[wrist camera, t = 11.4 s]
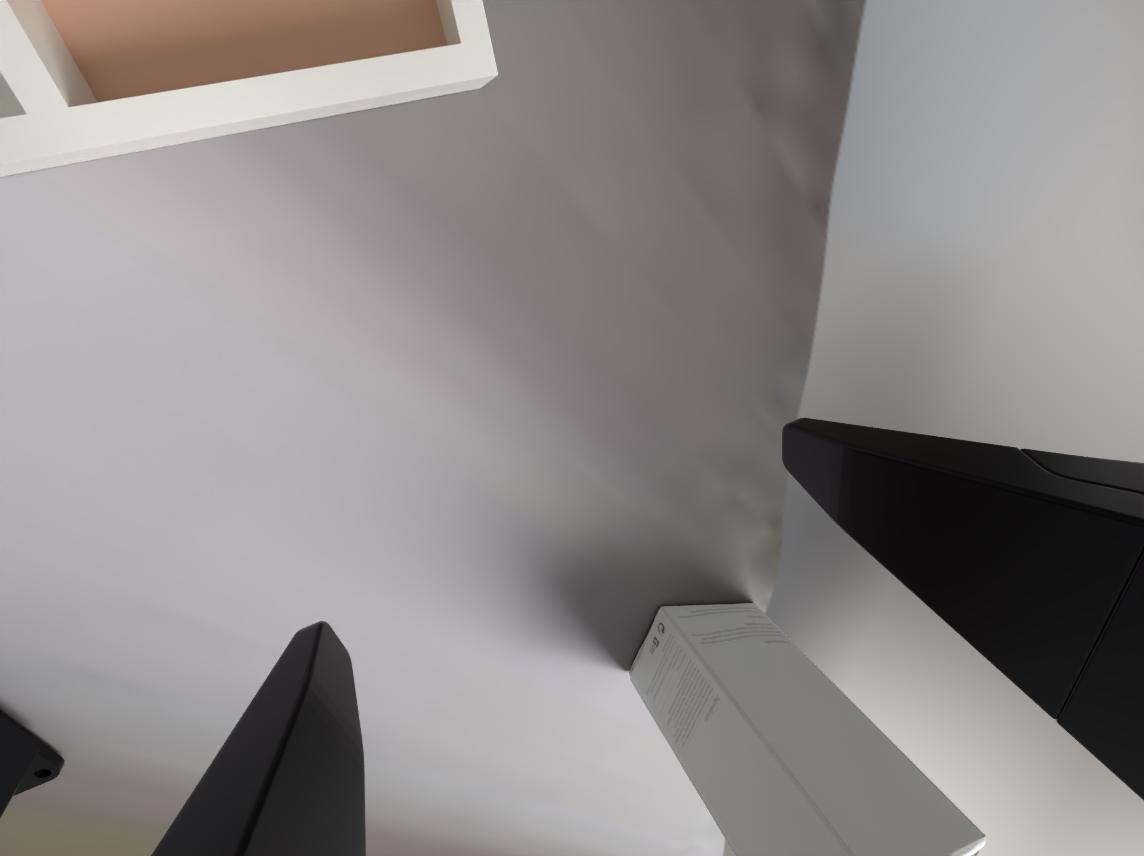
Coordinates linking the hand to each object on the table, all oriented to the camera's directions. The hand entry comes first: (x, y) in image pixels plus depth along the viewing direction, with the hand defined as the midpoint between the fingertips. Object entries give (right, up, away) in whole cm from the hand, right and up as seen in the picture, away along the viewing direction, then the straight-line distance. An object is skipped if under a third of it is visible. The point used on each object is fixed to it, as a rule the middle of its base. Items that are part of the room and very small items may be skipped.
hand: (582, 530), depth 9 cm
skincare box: (+8, -11, +23) cm, 27 cm away
